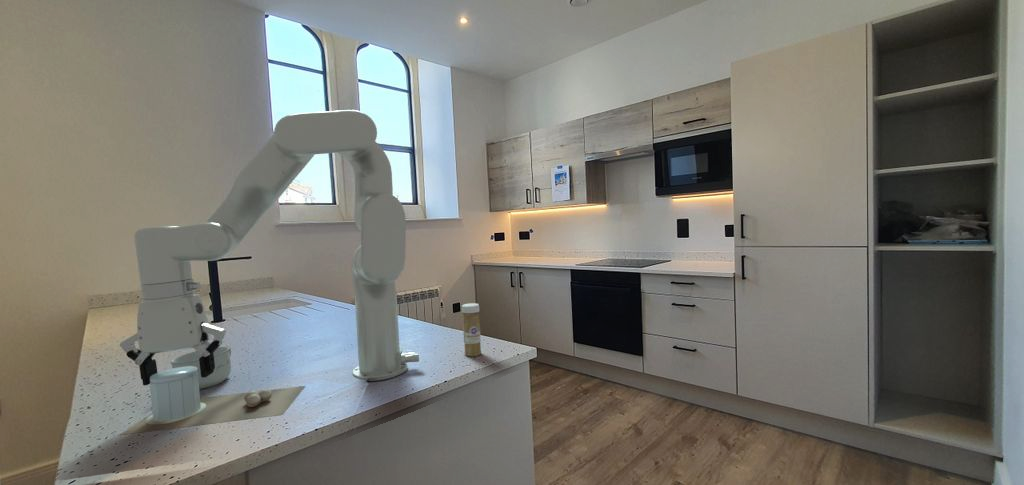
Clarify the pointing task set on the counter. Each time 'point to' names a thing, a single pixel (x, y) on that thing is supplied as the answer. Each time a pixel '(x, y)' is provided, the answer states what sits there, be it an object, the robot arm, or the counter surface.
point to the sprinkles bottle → (471, 329)
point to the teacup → (219, 372)
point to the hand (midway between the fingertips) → (179, 378)
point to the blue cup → (175, 393)
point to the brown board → (227, 409)
